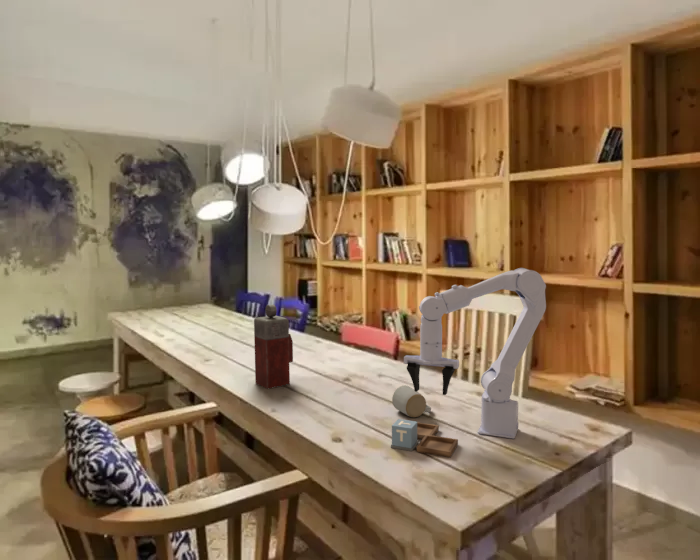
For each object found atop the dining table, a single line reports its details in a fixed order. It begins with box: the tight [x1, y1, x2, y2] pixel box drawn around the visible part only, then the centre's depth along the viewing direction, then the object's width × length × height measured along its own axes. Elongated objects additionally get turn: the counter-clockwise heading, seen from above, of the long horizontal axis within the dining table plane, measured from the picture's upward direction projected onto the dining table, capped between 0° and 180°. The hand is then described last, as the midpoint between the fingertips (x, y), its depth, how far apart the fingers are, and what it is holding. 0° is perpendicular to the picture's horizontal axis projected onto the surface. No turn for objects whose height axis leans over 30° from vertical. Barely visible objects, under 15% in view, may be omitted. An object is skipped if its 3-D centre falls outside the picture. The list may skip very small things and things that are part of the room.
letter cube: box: [391, 418, 418, 448], centre depth 133 cm, size 5×5×5 cm
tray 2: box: [416, 435, 459, 458], centre depth 131 cm, size 8×8×1 cm
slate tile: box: [390, 440, 420, 452], centre depth 133 cm, size 6×6×1 cm
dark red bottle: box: [253, 304, 294, 390], centre depth 187 cm, size 9×11×28 cm
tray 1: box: [416, 421, 440, 441], centre depth 141 cm, size 8×8×1 cm
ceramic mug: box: [391, 385, 432, 418], centre depth 156 cm, size 11×8×8 cm
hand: (430, 392), depth 142 cm, fingers open, 7 cm apart
